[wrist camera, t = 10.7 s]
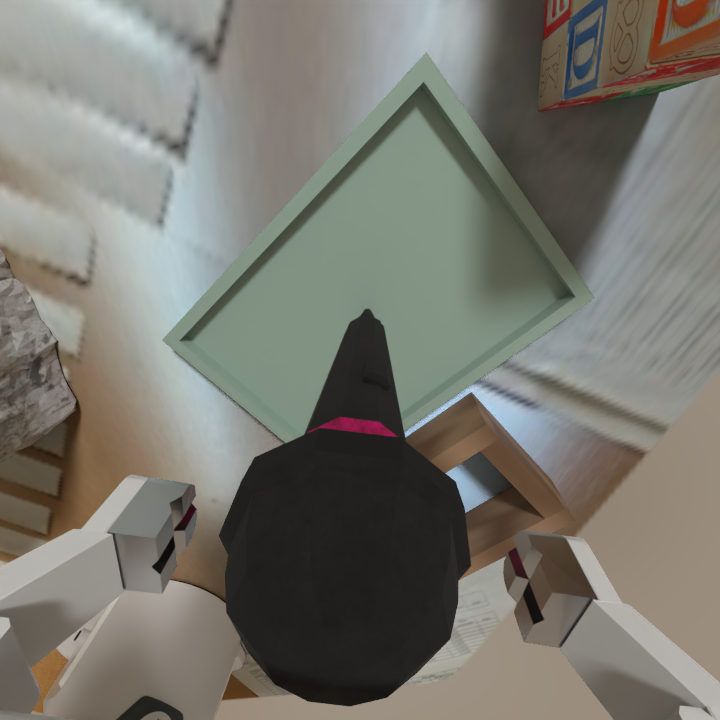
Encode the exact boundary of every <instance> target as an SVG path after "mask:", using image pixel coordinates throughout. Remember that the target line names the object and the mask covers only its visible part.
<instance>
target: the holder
mask: <svg viewBox="0 0 720 720" xmlns="http://www.w3.org/2000/svg"><path fill="white" fill-rule="evenodd" d="M405 440H406V442H407V443H408V444H409V445H411V446H412V447H413V448H414V449H416V450H417V451H418V452H419V453H421V454H422V455H423V456H424V457H425V458H427V459H428V460H429V461H430V462H432V463H433V464H434V465H435V466H437V467H438V468H439V469H440V470H442V471H443V472H444V473H446V472H448V471H449V470H451V469H453V468H454V467H456V466H457V465H459V464H461V463H462V462H464V461H465V460H467V459H469V458H470V457H472V456H473V455H475V454H477V453H478V452H481V453H482V454H483V455H484V456H485V457H486V458H487V459H488V460H489V461H490V462H491V463H492V464H493V465H494V466H495V467H496V468H497V469H498V470H499V471H500V473H501V474H502V475H503V476H504V477H505V478H506V479H507V480H508V481H509V482H510V483H511V484H512V485H513V487H511V488H509V489H507V490H506V491H504V492H502V493H500V494H499V495H497V496H495V497H493V498H492V499H490V500H488V501H486V502H485V503H483V504H481V505H479V506H478V507H476V508H474V509H472V510H471V511H469V512H467V513H465V517H466V525H467V534H468V542H469V550H470V559H471V567H470V568H469V569H468V570H467V571H466V573H465V574H464V575H463V576H462V577H461V578H460V579H462V578H464V577H466V576H468V575H470V574H472V573H474V572H476V571H478V570H479V569H481V568H483V567H485V566H487V565H489V564H491V563H493V562H495V561H497V560H499V559H501V558H503V557H505V556H507V553H508V552H509V551H511V550H512V549H514V548H516V545H515V543H514V538H515V536H516V534H517V533H518V532H519V531H520V530H525V531H533V532H541V533H549V534H551V533H553V532H554V531H556V530H558V529H560V528H562V527H564V526H566V525H568V524H570V523H572V522H574V521H575V519H574V518H573V516H572V514H571V513H570V511H569V509H568V507H567V506H566V504H565V502H564V501H563V499H562V497H561V495H560V494H559V492H558V490H557V489H556V487H555V485H554V484H553V482H552V480H551V479H550V478H549V477H548V476H547V475H546V474H545V473H544V472H543V470H542V469H541V468H540V467H539V466H538V465H537V464H536V463H535V462H534V461H533V459H532V458H531V457H530V456H529V455H528V454H527V453H526V452H525V451H524V450H523V448H522V447H521V446H520V445H519V444H518V443H517V442H516V441H515V440H514V439H513V437H512V436H511V435H510V434H509V433H508V432H507V431H506V430H505V429H504V428H503V426H502V425H501V424H500V423H499V422H498V421H497V420H496V419H495V418H494V416H493V415H492V414H491V413H490V412H489V411H488V410H487V409H486V408H485V407H484V405H483V404H482V403H481V402H480V401H479V400H478V399H477V398H476V397H475V396H474V394H473V393H472V392H471V393H470V394H468V395H467V396H465V397H464V398H463V399H461V400H460V401H458V402H457V403H455V404H454V405H452V406H451V407H449V408H448V409H447V410H445V411H444V412H442V413H441V414H439V415H438V416H436V417H435V418H434V419H432V420H431V421H429V422H428V423H426V424H425V425H423V426H422V427H421V428H419V429H418V430H416V431H415V432H413V433H412V434H410V435H409V436H408V437H406V438H405ZM460 579H459V580H460Z"/></svg>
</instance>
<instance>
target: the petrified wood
mask: <svg viewBox="0 0 720 720" xmlns="http://www.w3.org/2000/svg"><path fill="white" fill-rule="evenodd" d="M56 342H57V340H56V339H55V338H54V337H53V336H52V334H51V332H50V330H49V329H48V328H47V327H46V325H45V324H44V323H43V322H42V320H41V319H40V317H39V314H38V312H37V309H36V307H35V304H34V302H33V300H32V298H31V295H30V294H29V292H28V291H27V289H26V287H25V286H24V285H23V284H22V283H21V282H19V281H18V280H17V279H15V277H14V276H13V274H12V272H11V270H10V267H9V265H8V262H7V259H6V257H5V255H4V254H3V252H2V251H1V250H0V462H1V461H3V460H5V459H6V458H8V457H11V456H12V455H13V454H14V453H15V452H16V451H18V450H21V449H24V448H27V447H29V446H31V445H32V444H33V443H35V442H36V441H37V440H38V439H40V438H41V437H42V436H44V435H47V434H48V433H49V432H50V431H51V430H52V429H53V428H54V427H55V426H57V425H58V424H59V423H61V422H62V421H64V420H65V419H66V418H67V417H68V416H69V415H70V414H71V413H73V412H74V411H75V410H77V409H76V406H75V403H76V398H75V397H74V395H73V393H72V392H71V390H70V388H69V387H68V385H67V383H66V381H65V379H64V376H63V374H62V371H61V367H60V364H59V361H58V357H57V353H56V349H55V344H56Z"/></svg>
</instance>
